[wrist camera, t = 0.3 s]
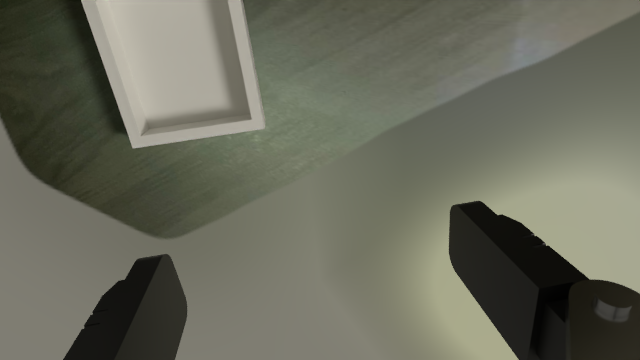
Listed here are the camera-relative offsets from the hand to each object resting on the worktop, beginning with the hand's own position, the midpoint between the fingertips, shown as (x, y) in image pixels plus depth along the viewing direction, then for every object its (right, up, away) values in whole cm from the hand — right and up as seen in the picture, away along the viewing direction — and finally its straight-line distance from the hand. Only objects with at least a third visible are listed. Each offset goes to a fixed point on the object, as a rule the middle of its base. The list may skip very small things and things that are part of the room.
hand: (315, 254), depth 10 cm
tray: (-12, +13, +23) cm, 29 cm away
